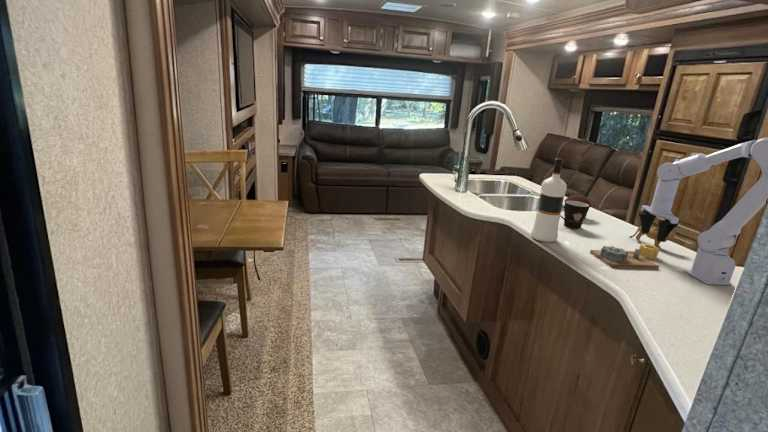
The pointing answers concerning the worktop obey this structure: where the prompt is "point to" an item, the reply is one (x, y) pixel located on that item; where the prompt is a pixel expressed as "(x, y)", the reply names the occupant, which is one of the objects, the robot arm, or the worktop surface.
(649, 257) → the ochre gear
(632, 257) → the gear board
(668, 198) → the robot arm
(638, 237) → the lion figurine
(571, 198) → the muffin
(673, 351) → the worktop surface
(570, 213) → the coffee mug
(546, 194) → the vodka
